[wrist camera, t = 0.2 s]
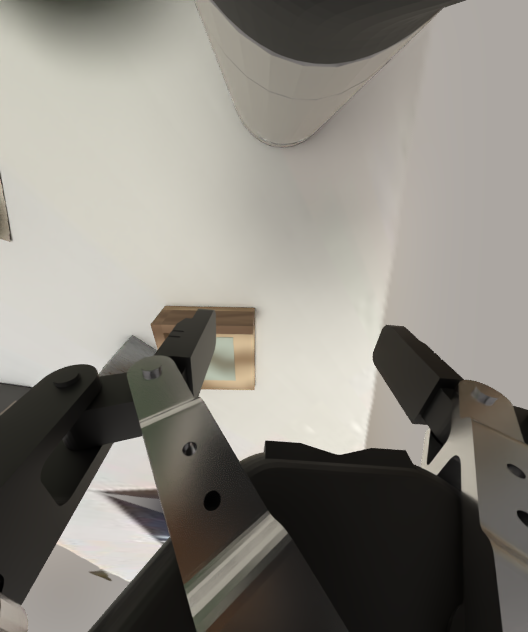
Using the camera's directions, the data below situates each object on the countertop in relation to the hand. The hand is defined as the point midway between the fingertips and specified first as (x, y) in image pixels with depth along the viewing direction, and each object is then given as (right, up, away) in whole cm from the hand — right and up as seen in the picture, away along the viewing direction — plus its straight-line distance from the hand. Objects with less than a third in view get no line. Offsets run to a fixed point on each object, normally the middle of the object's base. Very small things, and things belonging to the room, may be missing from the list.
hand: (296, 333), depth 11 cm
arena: (-9, -4, +23) cm, 25 cm away
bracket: (-22, -5, +24) cm, 33 cm away
